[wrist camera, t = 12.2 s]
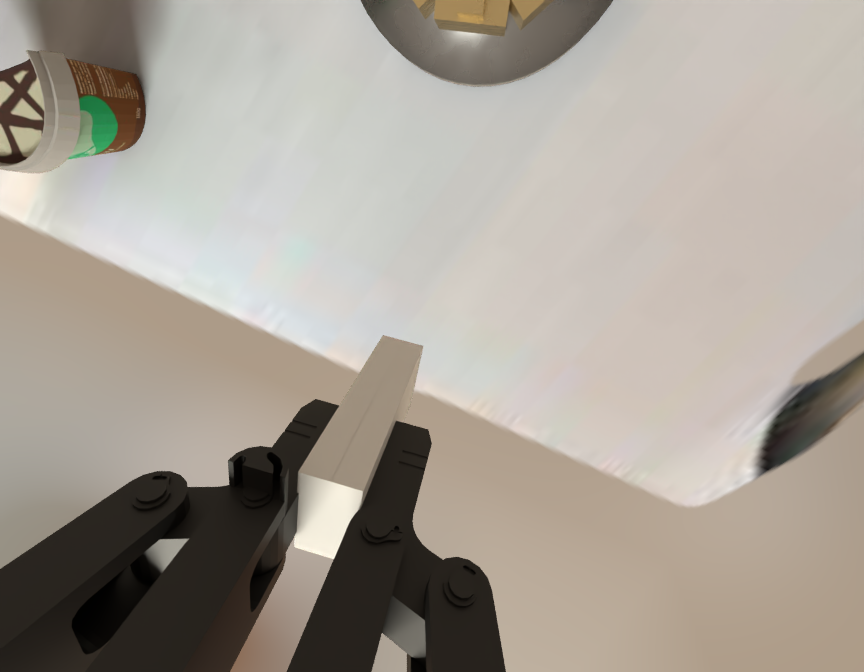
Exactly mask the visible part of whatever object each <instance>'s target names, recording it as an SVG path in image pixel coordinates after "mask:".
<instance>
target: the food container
mask: <svg viewBox="0 0 864 672" xmlns="http://www.w3.org/2000/svg"><path fill="white" fill-rule="evenodd" d="M26 52H27V54H28V56H29V58H30V59H29V60H27V61H26V62H24V63H22V64H19V65H16V66H14V67H11V68H9V69H6V70H3V71H0V169H2V170H7V171H15V172H23V173H43V172H48V171H51V170H53V169H55V168H57V167H59V166H60V165H62V164H63V163H64V162H65V161H66V160H67V159H73V158H80V157H86V156H93V155H99V154H106V153H112V152H118V151H123V150H126V149H128V148H130V147H131V146H133V145H134V144H135V143H136V142H137V140H138V139H139V138H140V136H141V134H142V132H143V128H144V125H145V117H146V111H145V101H144V95H143V91H142V88H141V85H140V82H139V80H138V77H137V75H136V74H133V73H129V72H124V71H120V70H116V69H111V68H107V67H102V66H98V65H93V64H89V63H85V62H80V61H76V60H71V59H67V58H65V56H64V54H63V53H58V52H49V51H38V52H36V51H29V50H26Z"/></svg>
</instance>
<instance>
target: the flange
mask: <svg viewBox="0 0 864 672" xmlns="http://www.w3.org/2000/svg"><path fill="white" fill-rule="evenodd" d="M612 1H613V0H554V1H553V2H552V3H550V4H549V5H548V6H547V7H546V8H545V9H544V10H543V11H542V12H541V13H540V14H538V15H537V16H536V17H535V18H534V19H533V20H532V21H531V22H530V23H529V24H527V25H526V26H525V27H524V28H523V29H522V30H521V31H520V29H519V27H518V26H517V24H516V22H515V21H514V19H513V17H512V16H511V14H510V12H508V18H507V24H506V30H505V37H503V36H495V35H486V34H477V33H469V32H460V31H452V30H443V29H439V28H438V26H437V24H436V22H435V20H434V12H433V13H432V14H431V15H430V16H429V17H428V18H427V19H426V20H425V18H424V17H423V15H422V14H421V12H420V11H419V9H418V8H417V6H416V5H415V3H414V2H413V0H361V2H362V4H363V6H364V8H365V10H366V11H367V13H368V15H369V16H370V18H371V19H372V21H373V22H374V24H375V25H376V27H377V28H378V30H379V31H380V32H381V33H382V35H383V36H384V37H385V38H386V39H387V40H388V41H389V43H390V44H391V45H392V46H393V47H394V48H395V49H396V50H398V51H399V52H400V53H401V54H402V55H403V56H404V57H405V58H407V59H408V60H409V61H410V62H411V63H413V64H414V65H416V66H417V67H419V68H420V69H422V70H423V71H425V72H426V73H428V74H431V75H433V76H435V77H437V78H439V79H441V80H444V81H448V82H451V83H454V84H458V85H466V86H473V87H481V86H496V85H502V84H508V83H511V82H514V81H517V80H520V79H523V78H526V77H528V76H530V75H532V74H534V73H536V72H539V71H541V70H542V69H544V68H546V67H547V66H549V65H550V64H552V63H553V62H555V61H556V60H558V59H559V58H560V57H562V56H563V55H564V54H565V53H566V52H568V51H569V50H570V49H571V48H572V47H574V46H575V45H576V44H577V43H578V42H579V41H580V39H581V38H582V37H583V36H584V35H585V34H586V33H587V32H588V31H589V30H590V29H591V28H592V27H593V26H594V25H595V24H596V22H597V21H598V20H599V19H600V17H601V16H602V15H603V13H604V12H605V11H606V10H607V8H608V7H609V6H610V4H611V3H612Z"/></svg>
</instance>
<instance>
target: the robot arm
mask: <svg viewBox="0 0 864 672" xmlns="http://www.w3.org/2000/svg"><path fill="white" fill-rule="evenodd" d="M422 350H423V346H421V345H417V344H414V343H410V342H406V341H402V340H399V339H395V338H391V337H388V336H384V335H383V336H382V338H381V339H380V341H379V343H378V344H377V346H376V347H375V349H374V351H373V352H372V354H371V355H370V357H369V359H368V360H367V362H366V363H365V365H364V367H363V368H362V370H361V372H360V373H359V375H358V377H357V378H356V380H355V381H354V383H353V385H352V386H351V388H350V389H349V391H348V392H347V394H346V396H345V397H344V399H343V401H342V402H341V404H340V405H335V404H331V403H328V402H324V401H321V400H317V399H315V400H314V401H312V402H311V403H309V404H307V405H305V406H304V407H302V408H301V409H300V411H299V412H298V413H297V414H296V416H295V417H294V418H293V421H292V422H291V423H290V424H289V425H288V427H287V428H286V429H285V432H283V433H282V435H281V436H280V437H279V439H278V440H277V441H276V443H275V444H274V445H273V447H272V448H271V447H263V446H259V447H252V448H247V449H245V450H243V451H240V452H238V453H236V454H235V455H234V456H233V457H232V458H230V459H229V460H228V468H229V484H230V485H227V486H222V487H187V482H186V481H185V479H184V478H183V477H182V476H181V475H179V474H176V473H173V472H170V471H157V472H153V473H149V474H145V475H142V476H140V477H138V478H137V479H135V480H133V481H131V482H129V483H128V484H126V485H125V486H123V487H122V488H120V489H119V490H117V491H116V492H114V493H113V494H111V495H110V496H108V497H107V498H105V499H104V500H102V501H101V502H99V503H98V504H96V505H95V506H93V507H92V508H90V509H89V510H87V511H86V512H84V513H83V514H82V515H80V516H79V517H77V518H76V519H74V520H73V521H71V522H70V523H68V524H67V525H65V526H64V527H62V528H61V529H59V530H58V531H56V532H55V533H53V534H52V535H50V536H49V537H47V538H46V539H44V540H43V541H41V542H40V543H38V544H37V545H35V546H34V547H32V548H31V549H29V550H28V551H26V552H25V553H23V554H22V555H20V556H19V557H18V558H16V559H15V560H13V561H12V562H10V563H9V564H7V565H6V566H4V567H3V568H1V569H0V672H230V670H231V669H232V666H233V664H234V662H235V661H236V659H237V657H238V655H239V653H240V651H241V649H242V647H243V645H244V643H245V641H246V640H247V638H248V635H249V634H250V632H251V630H252V628H253V626H254V624H255V622H256V620H257V618H258V616H259V614H260V612H261V610H262V609H263V607H264V605H265V603H266V601H267V599H268V597H269V595H270V593H271V591H272V589H273V587H274V585H275V583H276V582H277V580H278V578H279V576H280V574H281V572H282V570H283V566H284V563H285V558H286V551H287V549H288V547H289V545H290V543H291V542H292V540H293V538H294V536H295V541H294V547H296V548H299V549H302V550H305V551H309V552H312V553H315V554H319V555H322V556H325V557H328V558H331V559H334V560H333V563H332V565H331V567H330V570H329V572H328V575H327V577H326V580H325V582H324V584H323V587H322V589H321V591H320V594H319V596H318V598H317V601H316V603H315V606H314V608H313V610H312V613H311V615H310V618H309V620H308V622H307V625H306V627H305V630H304V632H303V634H302V637H301V639H300V641H299V644H298V646H297V648H296V651H295V653H294V656H293V658H292V660H291V663H290V665H289V668H288V670H287V672H371V671H372V667H373V664H374V660H375V655H376V652H377V648H378V645H379V641H380V637H381V634H382V633H383V634H384V635H386V636H387V637H388V638H389V639H390V640H392V641H393V642H394V643H395V644H396V645H398V646H399V647H400V648H401V649H403V650H404V651H405V652H406V653H407V672H506V671H505V665H504V658H503V653H502V647H501V641H500V636H499V629H498V624H497V618H496V612H495V606H494V600H493V594H492V589H491V586H490V583H489V581H488V578H487V577H486V575H485V574H484V572H483V571H482V570H481V569H480V567H478V566H477V565H475V564H474V563H473V562H471V561H470V560H467V559H463V558H460V557H453V558H446V559H444V560H442V559H441V558H439V557H438V556H437V555H435V554H434V553H432V552H431V551H429V550H428V549H427V548H426V547H425V546H424V545H422V543H421V542H420V540H419V539H418V538H417V536H416V534H415V531H414V528H413V522H412V520H413V512H414V509H415V505H416V501H417V497H418V493H419V489H420V486H421V482H422V479H423V475H424V471H425V467H426V463H427V460H428V456H429V452H430V448H431V444H432V443H431V439H430V435H429V431H428V429H424V428H420V427H416V426H413V425H410V424H406V423H404V421H405V418H406V415H407V413H408V410H409V407H410V404H411V399H412V395H413V391H414V386H415V382H416V377H417V373H418V368H419V364H420V359H421V354H422Z"/></svg>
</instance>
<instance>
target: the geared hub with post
mask: <svg viewBox="0 0 864 672" xmlns="http://www.w3.org/2000/svg"><path fill="white" fill-rule="evenodd" d="M553 1H554V0H413V2H414V3H415V5H416V6H417V8H418V9H419V11H420V12H421V14H422V15H423V17H424V18H425V20H426V19H427V18H428V17H429V16H430V15H431V14H432V13H433V12H434V20H435V22H436V24H437V26H438V28H439V29H443V30H452V31H460V32H469V33H477V34H486V35H495V36H503V37H505V30H506V24H507V18H508V12H510V14H511V16H512V17H513V19H514V21H515V22H516V24H517V26H518V27H519V29H520V31H521V30H522V29H523V28H524V27H525V26H526V25H527V24H529V23H530V22H531V21H532V20H533V19H534V18H535V17H536V16H537V15H538V14H540V13H541V12H542V11H543V10H544V9H545V8H546V7H547V6H548V5H549V4H550V3H552V2H553Z"/></svg>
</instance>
